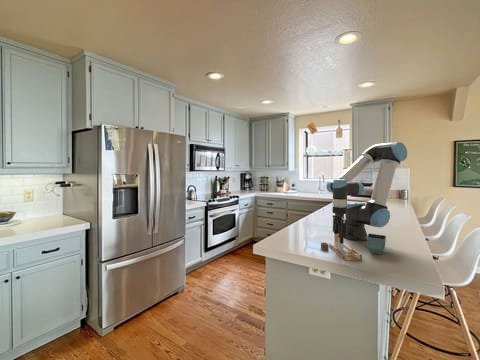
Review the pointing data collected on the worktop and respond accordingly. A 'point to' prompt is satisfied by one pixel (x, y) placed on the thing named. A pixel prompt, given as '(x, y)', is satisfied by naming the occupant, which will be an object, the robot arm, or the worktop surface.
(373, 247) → the flower pot
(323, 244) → the wooden square sleeve
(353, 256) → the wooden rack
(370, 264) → the worktop surface
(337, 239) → the ball
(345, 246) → the runway
